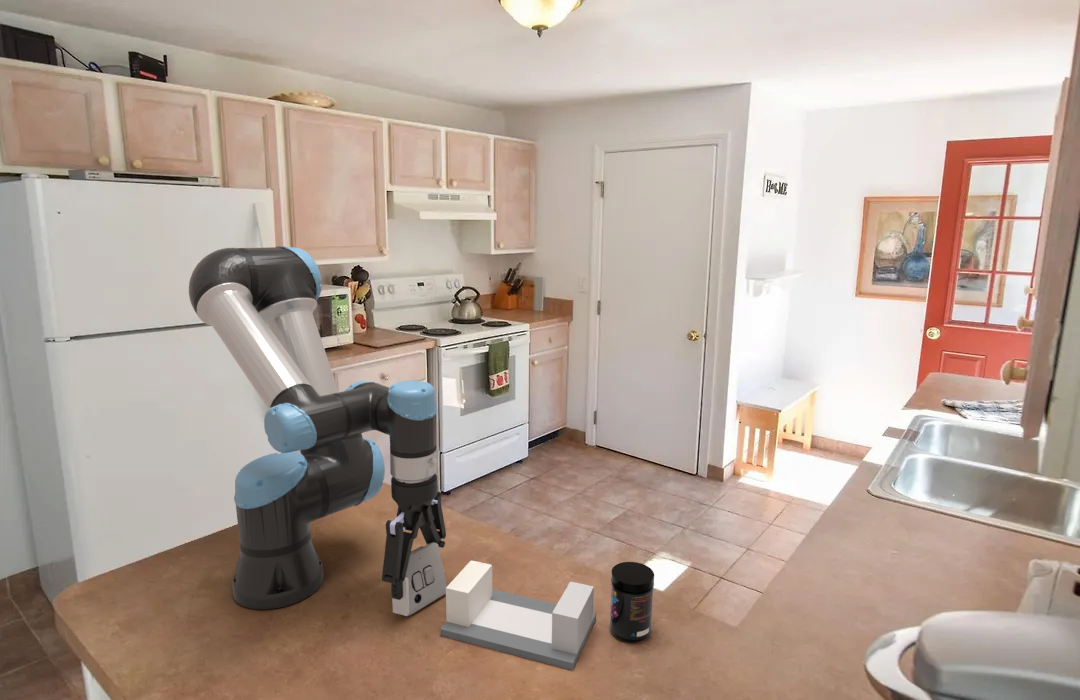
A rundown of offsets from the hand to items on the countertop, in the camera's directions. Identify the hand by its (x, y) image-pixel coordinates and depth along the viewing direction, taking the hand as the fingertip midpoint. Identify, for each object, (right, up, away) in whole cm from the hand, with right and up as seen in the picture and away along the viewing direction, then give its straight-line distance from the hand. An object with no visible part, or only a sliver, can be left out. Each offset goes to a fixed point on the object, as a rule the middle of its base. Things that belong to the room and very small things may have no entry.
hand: (417, 596), depth 108 cm
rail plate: (+18, -3, -6) cm, 19 cm away
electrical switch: (0, -1, 0) cm, 1 cm away
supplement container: (+36, -3, -7) cm, 37 cm away
